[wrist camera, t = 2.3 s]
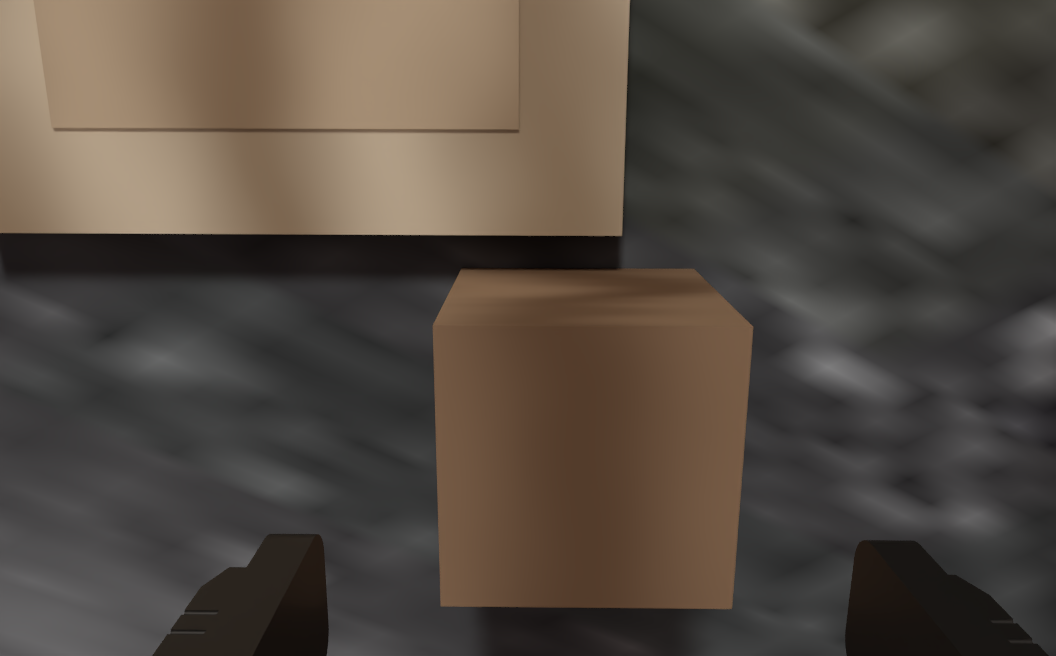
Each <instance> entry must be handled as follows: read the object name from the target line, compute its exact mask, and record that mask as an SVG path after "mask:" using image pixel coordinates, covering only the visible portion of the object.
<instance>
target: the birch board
mask: <svg viewBox="0 0 1056 656" xmlns="http://www.w3.org/2000/svg"><path fill="white" fill-rule="evenodd" d="M629 10H630V0H0V233H109V234H315V235H521V236H622V221H623V190H624V160H625V130H626V100H627V70H628V40H629Z"/></svg>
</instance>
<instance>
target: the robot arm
mask: <svg viewBox="0 0 1056 656" xmlns="http://www.w3.org/2000/svg"><path fill="white" fill-rule="evenodd" d="M328 633H329V628H328V609H327V593H326V576H325V559H324V547H323V541H322V538H321V536H320V535H318V534H269V535H268V536H267V537H266V538H265V539H264V541H263V542H262V544H261V546H260V547H259V549H258V550H257V552H256V553H255V555H254V557H253V558H252V560H251V561H250V563H249V564H248V566H247V567H246V568H243V567H229V568H228V569H226V570H225V571H223V572H222V573H221V574H219V575H218V576H216V577H215V578H213V579H212V580H211V581H209V582H208V583H206V584H205V585H203V586H202V587H201V588H200V589H199V591H198V592H197V594H196V595H195V596H194V598H193V599H192V601H191V602H190V603H189V605H188V606H187V608H186V609H185V613H184V615H181V616H180V617H179V619H178V620H177V622H176V623H175V625H174V626H173V627H172V629H171V634H167V636H166V637H165V639H164V640H163V641H162V643H161V644H160V646H159V647H158V648H157V650H156V651H155V653H154V654H153V656H326V655H327V648H328ZM845 644H846V653H847V656H1048V655H1047V654H1046V652H1045V651H1044V650H1043V649H1042V648H1041V647H1040V646H1039V645H1038V644H1033V643H1032V638H1031V637H1030V636H1029V635H1028V634H1027V633H1026V632H1025V631H1024V630H1023V629H1022V628H1021V627H1020V626H1019V625H1018V624H1014V623H1013V619H1012V618H1011V617H1010V616H1009V615H1008V614H1007V612H1006V611H1005V610H1004V609H1003V608H1002V607H1001V606H1000V605H999V604H998V603H997V602H996V601H995V600H994V599H993V598H992V597H991V596H990V595H988V594H987V593H985V592H983V591H982V590H980V589H978V588H977V587H975V586H973V585H972V584H970V583H968V582H967V581H965V580H963V579H962V578H960V577H958V576H957V575H947V573H946V572H945V571H944V570H943V569H942V568H941V567H940V566H939V565H938V564H937V563H936V562H935V560H934V559H933V558H932V557H931V556H930V555H929V554H928V553H927V552H926V551H925V550H924V549H923V548H922V546H921V545H920V544H918V543H917V542H915V541H887V540H864V541H861V542H860V543H859V544H858V546H857V549H856V552H855V557H854V565H853V573H852V581H851V590H850V598H849V607H848V615H847V623H846V633H845Z"/></svg>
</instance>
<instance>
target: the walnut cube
mask: <svg viewBox="0 0 1056 656" xmlns="http://www.w3.org/2000/svg"><path fill="white" fill-rule="evenodd" d="M752 337H753V326H752V325H751V324H750V323H749V322H748V321H747V320H746V319H745V318H744V317H743V316H741V315H740V314H739V313H738V312H737V311H736V310H735V309H734V308H733V307H732V306H731V305H730V304H729V303H728V302H727V301H726V300H725V299H724V298H723V297H722V296H721V295H720V294H719V293H718V292H717V291H716V290H715V289H714V288H713V287H712V286H711V285H710V284H709V283H708V282H707V281H706V280H705V279H704V278H703V277H702V276H701V275H700V274H699V273H698V272H697V271H696V270H695V269H585V268H461V270H460V272H459V274H458V276H457V278H456V280H455V282H454V284H453V286H452V288H451V290H450V292H449V294H448V296H447V298H446V300H445V302H444V304H443V306H442V308H441V310H440V312H439V314H438V316H437V318H436V320H435V322H434V324H433V351H434V386H435V420H436V455H437V490H438V525H439V560H440V595H441V606H460V607H568V608H677V609H732V601H733V588H734V575H735V562H736V548H737V535H738V522H739V509H740V496H741V482H742V469H743V456H744V443H745V430H746V416H747V403H748V390H749V377H750V364H751V350H752Z"/></svg>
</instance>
